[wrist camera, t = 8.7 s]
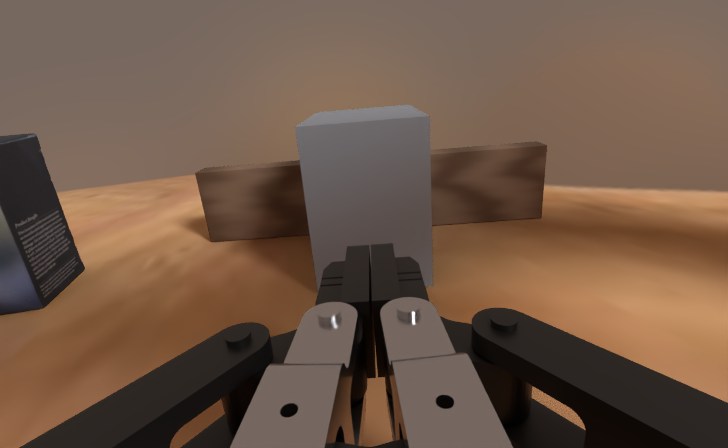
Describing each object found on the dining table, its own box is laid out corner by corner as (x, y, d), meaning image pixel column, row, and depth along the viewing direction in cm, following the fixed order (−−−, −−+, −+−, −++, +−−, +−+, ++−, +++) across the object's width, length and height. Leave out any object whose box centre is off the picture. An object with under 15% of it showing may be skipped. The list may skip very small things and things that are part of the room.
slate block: (413, 228, 33) (409, 104, 30) (433, 286, 24) (429, 116, 20) (331, 234, 33) (317, 112, 30) (318, 294, 24) (294, 126, 20)
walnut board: (531, 210, 34) (536, 141, 32) (541, 217, 33) (547, 145, 30) (219, 233, 35) (204, 167, 33) (211, 241, 33) (195, 173, 31)
